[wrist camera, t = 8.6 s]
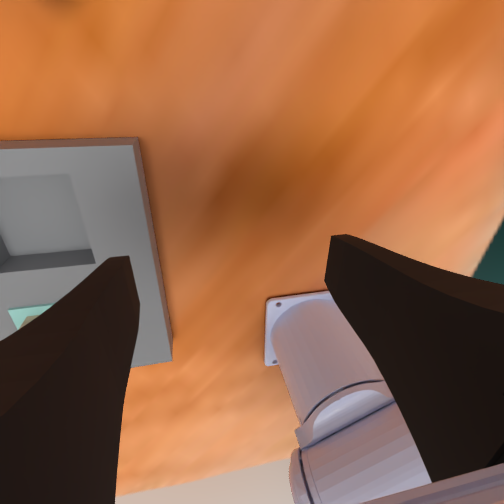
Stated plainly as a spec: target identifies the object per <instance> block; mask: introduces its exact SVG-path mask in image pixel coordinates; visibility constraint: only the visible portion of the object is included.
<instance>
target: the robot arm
mask: <svg viewBox="0 0 504 504" xmlns="http://www.w3.org/2000/svg"><path fill="white" fill-rule="evenodd" d="M324 281H325V283H326V285H327V288H328V290H329V291H323V292H316V293H308V294H301V295H293V296H286V297H278V298H271V299H269V300H268V301H267V302H266V319H265V346H264V363H265V365H266V366H272V365H278V364H279V366H280V369H281V372H282V375H283V378H284V381H285V383H286V386H287V389H288V392H289V395H290V397H291V400H292V403H293V406H294V409H295V412H296V414H297V417H298V420H299V423H300V427H299V428H297V429H295V434H296V437H297V440H298V443H299V446H300V447H299V448H297V449H294V450H293V452H292V454H291V462H290V466H289V479H290V486H291V491H292V495H293V499H294V503H295V504H504V285H502V284H498V283H493V282H489V281H484V280H480V279H476V278H472V277H468V276H464V275H460V274H457V273H453V272H450V271H446V270H443V269H440V268H437V267H433V266H430V265H428V264H425V263H422V262H419V261H416V260H413V259H411V258H408V257H406V256H403V255H400V254H398V253H395V252H393V251H390V250H388V249H385V248H383V247H380V246H378V245H375V244H373V243H370V242H368V241H365V240H363V239H360V238H357V237H354V236H351V235H347V234H344V235H334V236H331V240H330V247H329V254H328V260H327V267H326V273H325V280H324ZM278 302H280V303H279V304H276V303H278ZM139 318H140V300H139V296H138V292H137V287H136V283H135V279H134V274H133V270H132V266H131V261H130V257H129V255H128V256H117V257H109V258H108V259H107V260H105V261H104V262H103V263H102V264H101V265H100V266H98V267H97V268H96V269H95V270H94V271H93V272H92V273H91V274H89V275H88V276H87V277H86V278H85V279H84V280H83V281H82V282H80V283H79V284H78V285H77V286H76V287H75V288H73V289H72V290H71V291H70V292H69V293H67V294H66V295H65V296H64V297H62V298H61V299H60V300H59V301H57V302H56V303H55V304H54V305H52V306H51V307H50V308H48V309H47V310H46V311H45V312H43V313H42V314H41V315H39V316H38V317H36V318H35V319H33V320H32V321H31V322H29V323H28V324H26V325H25V326H23V327H22V328H20V329H19V330H17V331H16V332H14V333H13V334H11V335H9V336H8V337H6V338H5V339H3V340H1V341H0V504H115V493H116V478H117V466H118V454H119V443H120V432H121V423H122V413H123V404H124V398H125V392H126V387H127V382H128V378H129V373H130V368H131V364H132V359H133V354H134V350H135V345H136V340H137V335H138V330H139Z"/></svg>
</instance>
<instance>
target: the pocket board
mask: <svg viewBox="0 0 504 504" xmlns="http://www.w3.org/2000/svg"><path fill="white" fill-rule="evenodd" d="M128 255H129V257H130V261H131V266H132V270H133V274H134V279H135V283H136V287H137V292H138V296H139V300H140V318H139V330H138V335H137V340H136V345H135V350H134V354H133V359H132V364H131V368H133V367H139V366H145V365H151V364H157V363H163V362H169V361H172V346H173V337H172V331H171V325H170V319H169V313H168V308H167V302H166V296H165V290H164V285H163V279H162V273H161V267H160V262H159V256H158V250H157V244H156V239H155V233H154V227H153V221H152V215H151V210H150V204H149V198H148V192H147V187H146V181H145V175H144V169H143V164H142V158H141V152H140V146H139V140H138V137H122V138H86V139H50V140H14V141H0V341H1V340H3V339H5V338H6V337H8V336H9V335H11V334H13V333H14V332H16V331H17V330H18V329H19V328H20V326H21V325H22V323H23V322H24V320H25V318H26V317H27V316H34V315H41V314H42V313H43V312H45V311H46V310H47V309H48V308H50V307H51V306H52V305H54V304H55V303H56V302H57V301H59V300H60V299H61V298H62V297H64V296H65V295H66V294H67V293H69V292H70V291H71V290H72V289H73V288H75V287H76V286H77V285H78V284H79V283H80V282H82V281H83V280H84V279H85V278H86V277H87V276H88V275H89V274H91V273H92V272H93V271H94V270H95V269H96V268H97V267H98V266H100V265H101V264H102V263H103V262H104V261H105V260H107V259H108V258H109V257H117V256H128Z"/></svg>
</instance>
